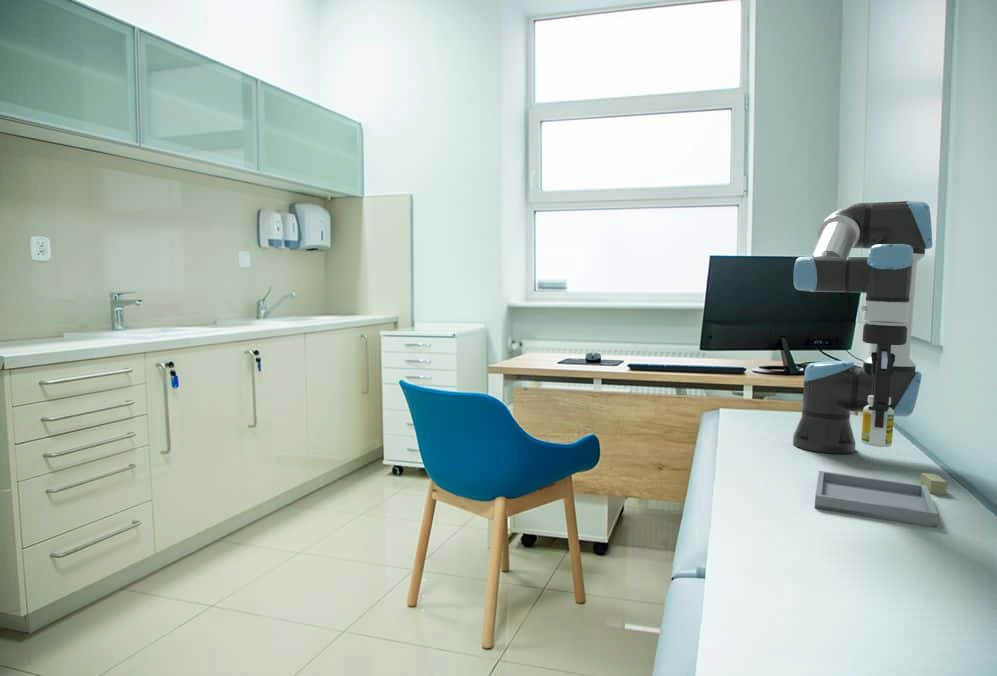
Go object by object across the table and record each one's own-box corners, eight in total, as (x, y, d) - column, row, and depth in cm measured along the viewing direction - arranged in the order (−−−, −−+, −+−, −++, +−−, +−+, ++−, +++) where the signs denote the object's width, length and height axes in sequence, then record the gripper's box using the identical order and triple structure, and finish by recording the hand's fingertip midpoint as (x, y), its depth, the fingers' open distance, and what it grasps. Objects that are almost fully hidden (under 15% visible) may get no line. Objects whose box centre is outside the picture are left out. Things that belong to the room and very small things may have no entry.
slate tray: (818, 481, 148) (819, 470, 148) (925, 497, 139) (926, 485, 139) (814, 507, 130) (815, 495, 130) (936, 527, 121) (938, 514, 121)
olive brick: (919, 486, 148) (921, 472, 147) (935, 487, 147) (936, 474, 147) (930, 494, 142) (931, 480, 141) (946, 496, 141) (947, 482, 141)
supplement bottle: (869, 440, 137) (873, 393, 136) (897, 445, 133) (900, 397, 132) (855, 442, 134) (858, 395, 134) (882, 448, 130) (886, 399, 129)
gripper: (862, 321, 141) (854, 429, 143) (864, 324, 125) (855, 447, 127) (904, 322, 138) (895, 434, 140) (911, 327, 122) (901, 453, 124)
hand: (876, 440), depth 133 cm, fingers closed on supplement bottle, 5 cm apart
